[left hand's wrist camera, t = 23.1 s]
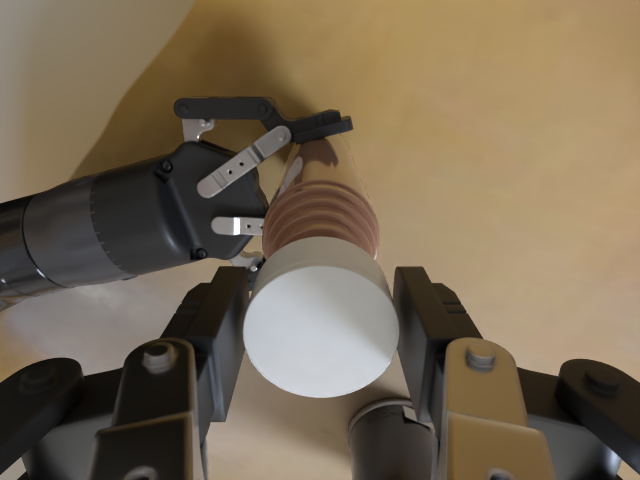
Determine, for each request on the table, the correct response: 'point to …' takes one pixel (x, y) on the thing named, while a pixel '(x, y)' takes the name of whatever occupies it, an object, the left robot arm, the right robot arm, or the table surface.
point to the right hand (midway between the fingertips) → (359, 163)
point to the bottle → (320, 199)
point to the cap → (321, 319)
